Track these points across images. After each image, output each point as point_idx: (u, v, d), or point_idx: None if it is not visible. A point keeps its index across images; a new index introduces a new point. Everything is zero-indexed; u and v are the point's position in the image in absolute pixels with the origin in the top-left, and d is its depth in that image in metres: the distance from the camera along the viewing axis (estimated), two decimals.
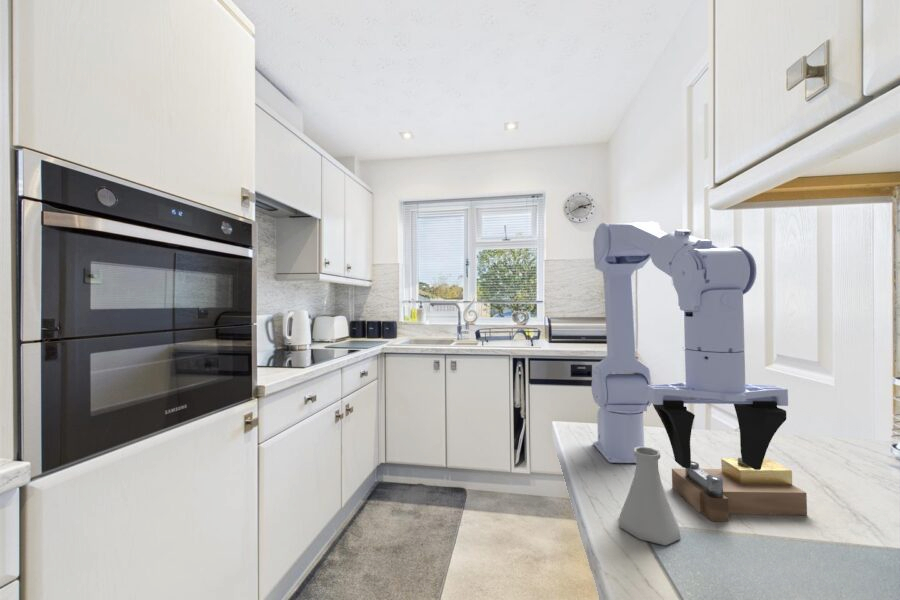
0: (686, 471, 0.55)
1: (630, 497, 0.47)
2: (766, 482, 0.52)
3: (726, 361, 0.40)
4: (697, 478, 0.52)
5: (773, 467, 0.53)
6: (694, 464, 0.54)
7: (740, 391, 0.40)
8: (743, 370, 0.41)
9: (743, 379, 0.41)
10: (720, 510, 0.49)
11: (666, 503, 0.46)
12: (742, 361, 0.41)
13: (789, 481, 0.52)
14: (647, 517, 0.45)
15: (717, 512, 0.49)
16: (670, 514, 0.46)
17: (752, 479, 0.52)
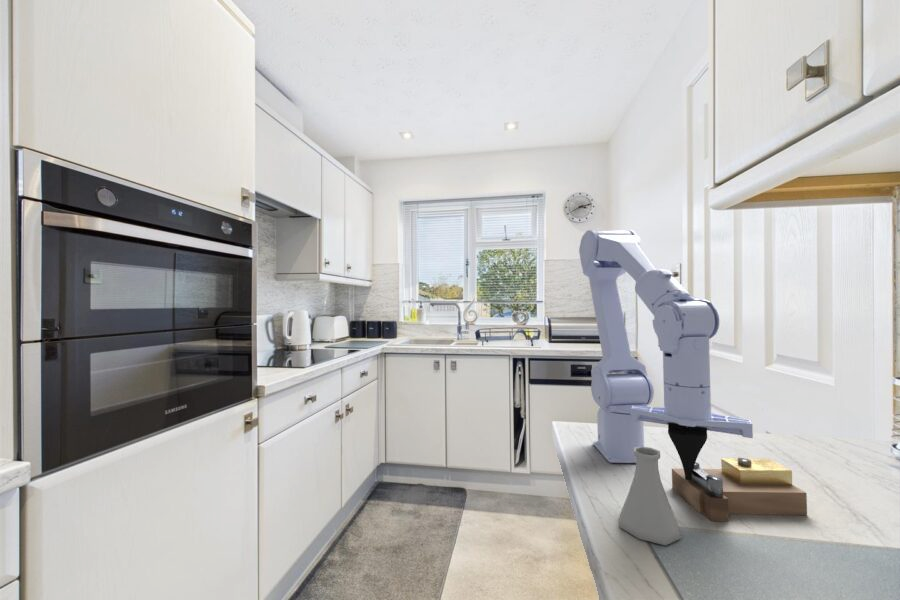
0: None
1: (630, 497, 0.47)
2: (766, 482, 0.52)
3: (683, 393, 0.51)
4: (697, 478, 0.52)
5: (773, 467, 0.53)
6: None
7: (696, 419, 0.50)
8: (702, 402, 0.50)
9: (701, 410, 0.50)
10: (720, 510, 0.49)
11: (666, 503, 0.46)
12: (700, 395, 0.50)
13: (789, 481, 0.52)
14: (647, 517, 0.45)
15: (717, 512, 0.49)
16: (670, 514, 0.46)
17: (752, 479, 0.52)
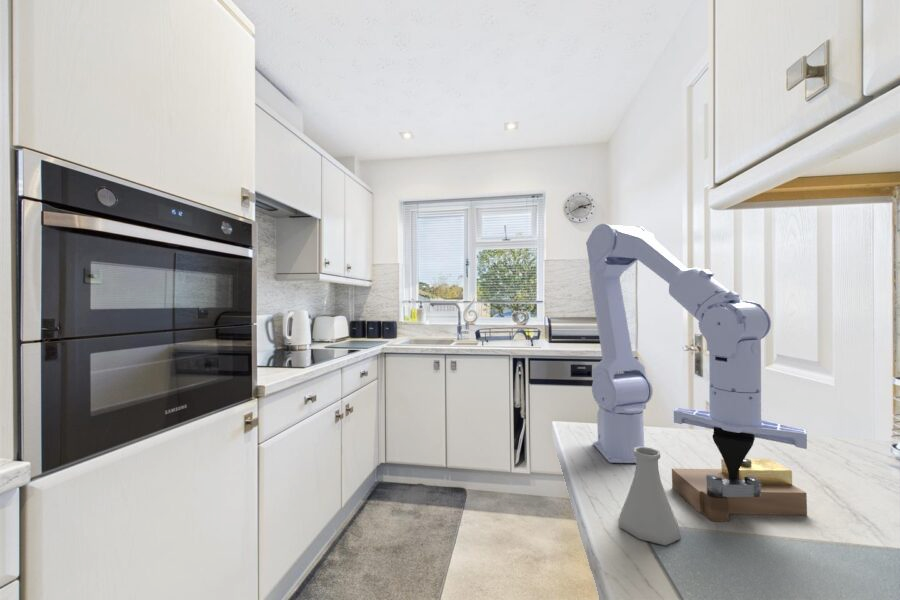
0: None
1: (630, 497, 0.47)
2: (766, 482, 0.52)
3: (728, 398, 0.49)
4: None
5: (773, 467, 0.53)
6: (749, 479, 0.49)
7: (743, 425, 0.49)
8: (749, 408, 0.48)
9: (749, 416, 0.48)
10: (720, 510, 0.49)
11: (666, 503, 0.46)
12: (748, 401, 0.48)
13: (789, 481, 0.52)
14: (647, 517, 0.45)
15: (717, 512, 0.49)
16: (670, 514, 0.46)
17: None
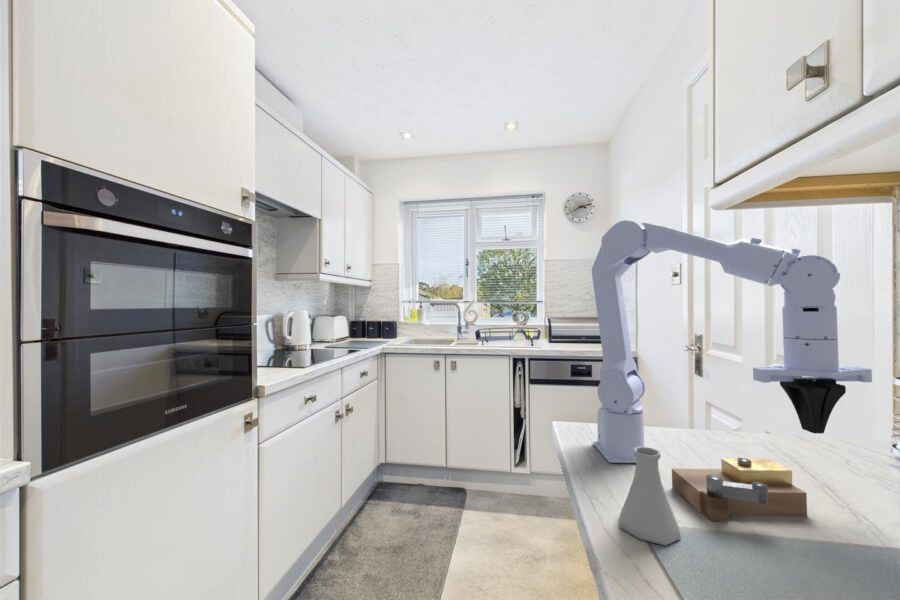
0: None
1: (630, 497, 0.47)
2: (766, 482, 0.52)
3: (825, 346, 0.51)
4: None
5: (773, 467, 0.53)
6: (756, 484, 0.48)
7: (836, 370, 0.51)
8: (837, 354, 0.51)
9: (838, 361, 0.51)
10: (720, 510, 0.49)
11: (666, 503, 0.46)
12: (837, 346, 0.51)
13: (789, 481, 0.52)
14: (647, 517, 0.45)
15: (717, 512, 0.49)
16: (670, 514, 0.46)
17: (752, 479, 0.52)
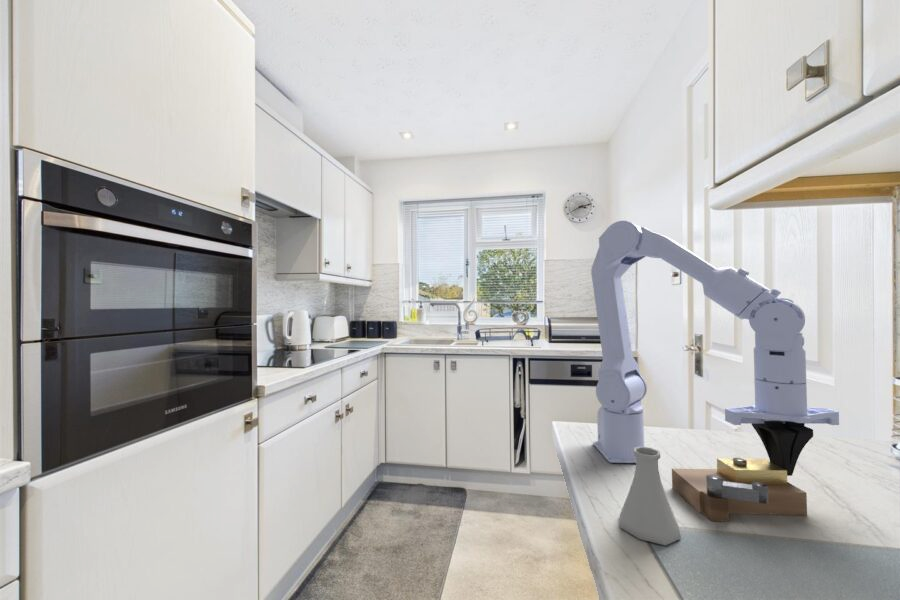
0: None
1: (630, 497, 0.47)
2: (761, 482, 0.52)
3: (794, 391, 0.51)
4: None
5: (768, 467, 0.53)
6: (756, 484, 0.48)
7: (804, 414, 0.51)
8: (806, 397, 0.52)
9: (806, 405, 0.52)
10: (720, 510, 0.49)
11: (666, 503, 0.46)
12: (805, 390, 0.52)
13: (784, 481, 0.52)
14: (647, 517, 0.45)
15: (717, 512, 0.49)
16: (670, 514, 0.46)
17: (747, 479, 0.52)
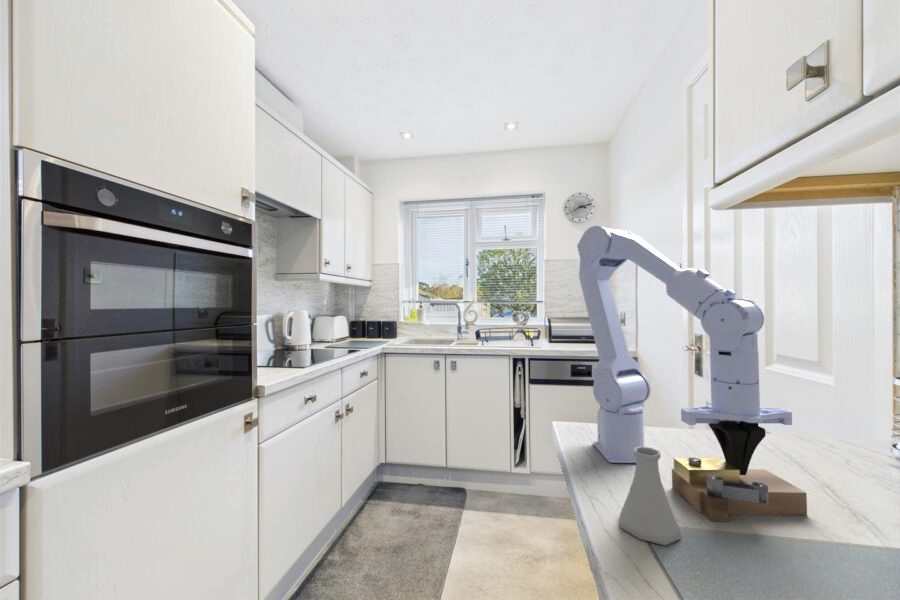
0: None
1: (630, 497, 0.47)
2: None
3: (746, 391, 0.52)
4: None
5: (722, 467, 0.53)
6: (756, 484, 0.48)
7: (756, 414, 0.52)
8: (758, 397, 0.52)
9: (758, 405, 0.52)
10: (720, 510, 0.49)
11: (666, 503, 0.46)
12: (758, 390, 0.52)
13: (737, 480, 0.52)
14: (647, 517, 0.45)
15: (717, 512, 0.49)
16: (670, 514, 0.46)
17: (701, 478, 0.53)
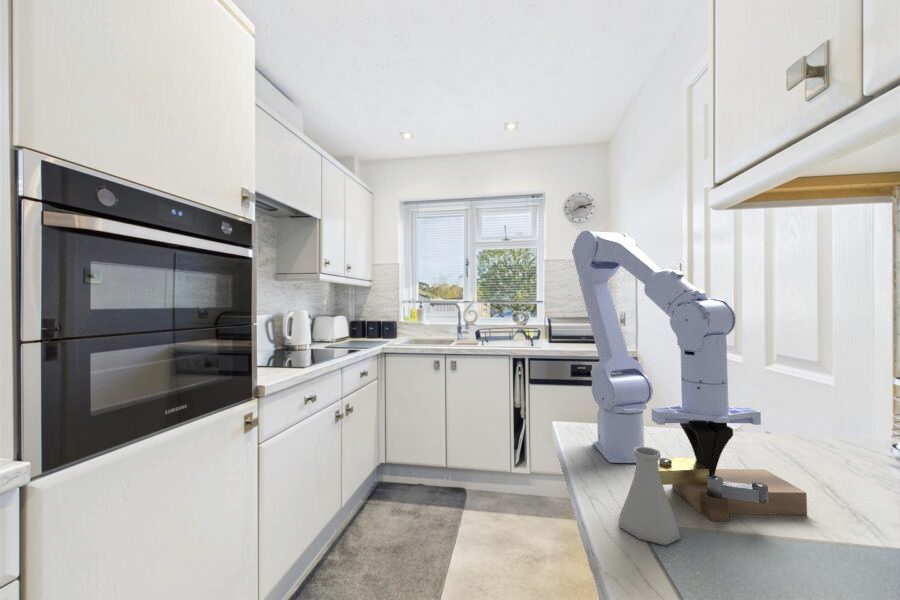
0: None
1: (630, 497, 0.47)
2: (684, 482, 0.53)
3: (714, 391, 0.52)
4: None
5: (692, 466, 0.54)
6: (756, 484, 0.48)
7: (724, 414, 0.52)
8: (727, 397, 0.52)
9: (727, 404, 0.52)
10: (720, 510, 0.49)
11: (666, 503, 0.46)
12: (726, 390, 0.52)
13: None
14: (647, 517, 0.45)
15: (717, 512, 0.49)
16: (670, 514, 0.46)
17: (671, 479, 0.53)
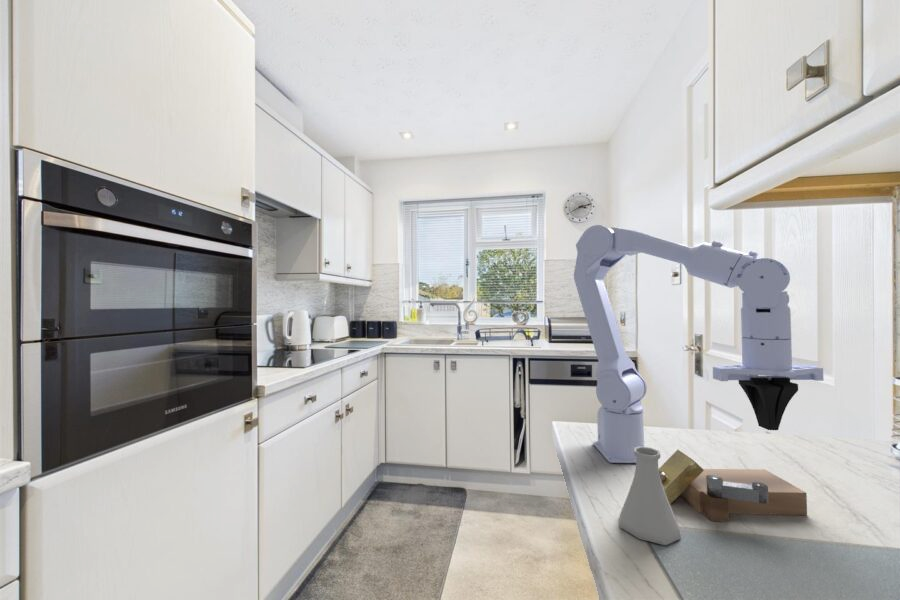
0: None
1: (630, 497, 0.47)
2: (685, 485, 0.53)
3: (779, 346, 0.53)
4: None
5: (681, 466, 0.54)
6: (756, 484, 0.48)
7: (789, 369, 0.53)
8: (791, 353, 0.53)
9: (791, 360, 0.53)
10: (720, 510, 0.49)
11: (666, 503, 0.46)
12: (790, 346, 0.53)
13: (699, 469, 0.53)
14: (647, 517, 0.45)
15: (717, 512, 0.49)
16: (670, 514, 0.46)
17: (674, 493, 0.53)
